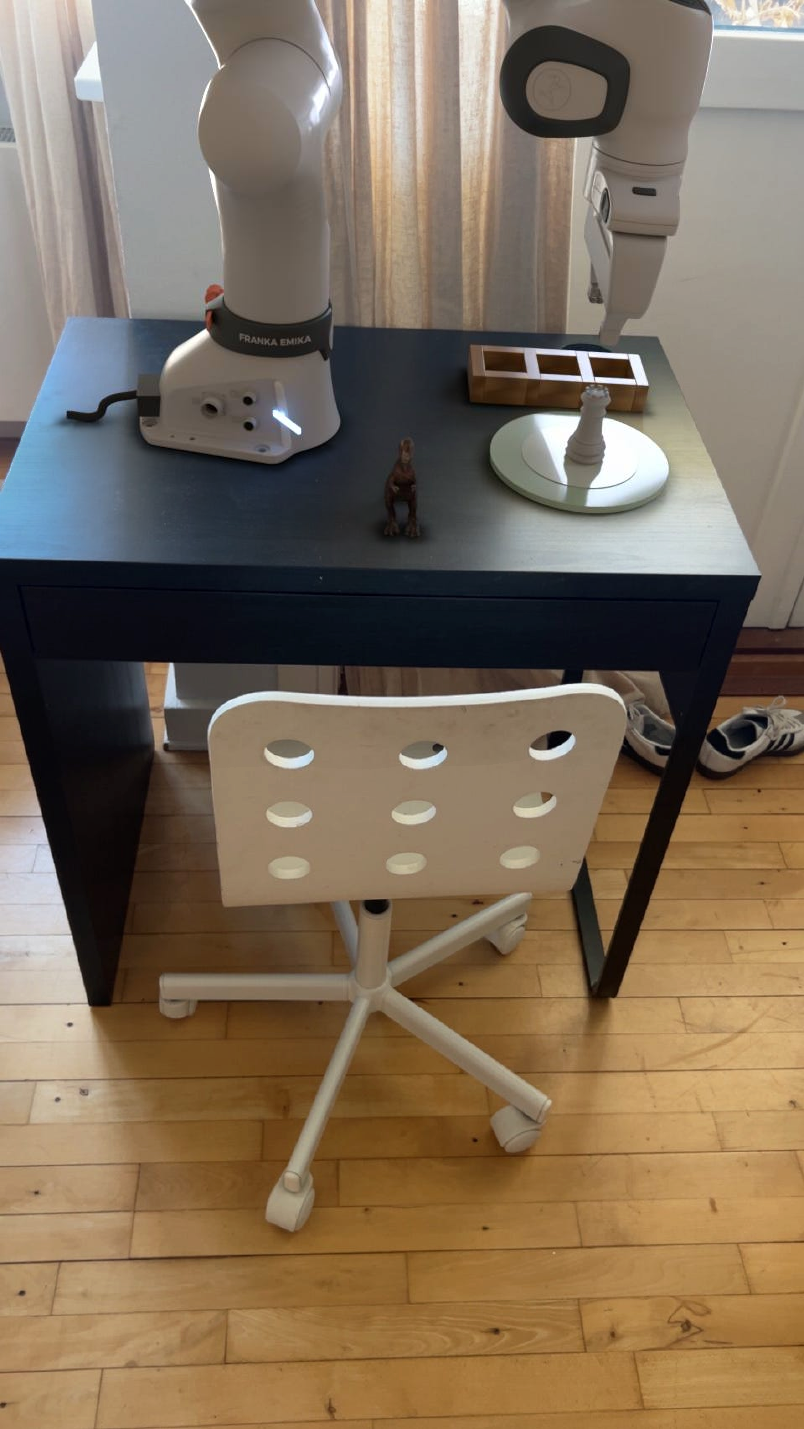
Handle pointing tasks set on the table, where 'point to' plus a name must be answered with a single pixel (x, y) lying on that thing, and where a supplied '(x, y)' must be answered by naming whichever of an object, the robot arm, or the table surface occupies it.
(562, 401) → the rack
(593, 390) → the rook chess piece
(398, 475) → the dinosaur model
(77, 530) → the table surface
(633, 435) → the plate
